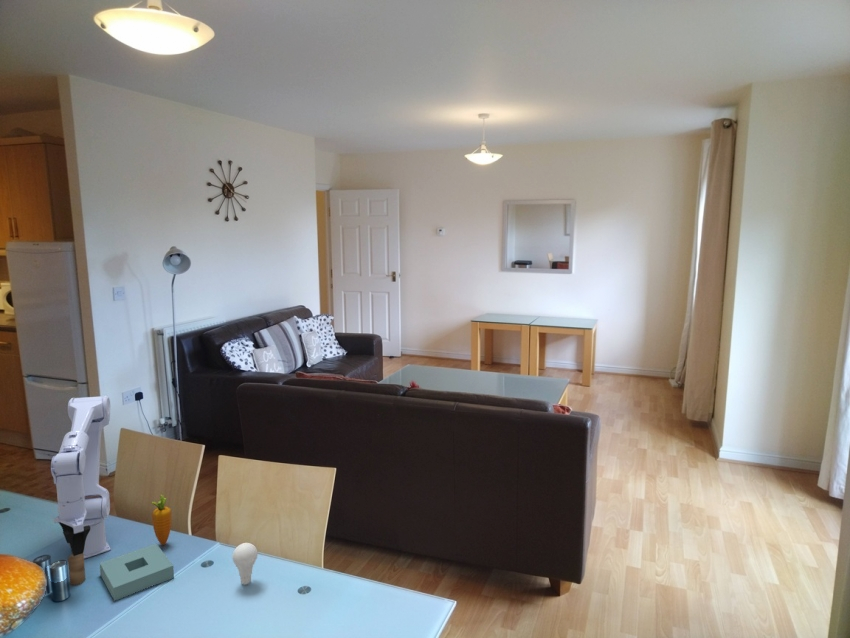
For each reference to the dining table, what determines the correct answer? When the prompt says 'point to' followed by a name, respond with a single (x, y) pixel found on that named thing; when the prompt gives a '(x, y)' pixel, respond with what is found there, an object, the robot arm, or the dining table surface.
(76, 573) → the peg
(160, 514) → the carrot
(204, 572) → the dining table surface
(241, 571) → the lightbulb
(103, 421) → the robot arm
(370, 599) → the dining table surface
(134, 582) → the socket block
